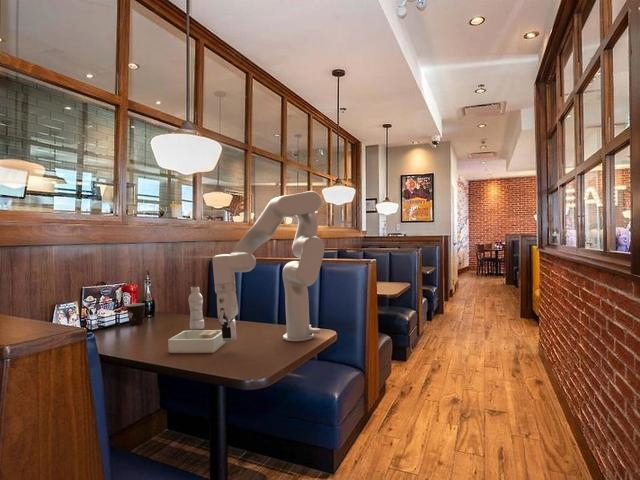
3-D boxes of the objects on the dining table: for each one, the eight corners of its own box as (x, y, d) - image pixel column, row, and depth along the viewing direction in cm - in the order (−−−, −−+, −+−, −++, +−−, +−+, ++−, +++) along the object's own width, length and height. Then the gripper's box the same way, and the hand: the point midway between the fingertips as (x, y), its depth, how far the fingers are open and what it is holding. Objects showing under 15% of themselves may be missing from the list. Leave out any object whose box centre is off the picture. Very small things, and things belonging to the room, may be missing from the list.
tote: (226, 342, 159) (225, 330, 159) (213, 352, 145) (213, 339, 145) (184, 342, 161) (184, 330, 161) (168, 353, 147) (168, 339, 147)
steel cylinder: (238, 336, 149) (236, 318, 149) (234, 340, 144) (232, 322, 144) (225, 337, 149) (224, 319, 149) (221, 341, 145) (219, 322, 144)
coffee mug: (125, 324, 200) (124, 305, 200) (142, 321, 206) (141, 302, 206) (132, 328, 191) (131, 307, 191) (150, 324, 197) (149, 304, 197)
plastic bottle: (200, 332, 178) (198, 288, 178) (186, 331, 179) (184, 288, 179) (207, 328, 184) (205, 286, 184) (194, 328, 186) (192, 286, 185)
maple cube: (217, 343, 155) (216, 331, 155) (212, 347, 150) (211, 334, 150) (204, 344, 155) (204, 331, 155) (199, 347, 150) (199, 334, 150)
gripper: (227, 291, 137) (231, 342, 138) (241, 283, 154) (245, 329, 155) (206, 292, 138) (211, 343, 139) (223, 284, 155) (227, 329, 156)
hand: (229, 335), depth 147 cm, fingers closed on steel cylinder, 5 cm apart
